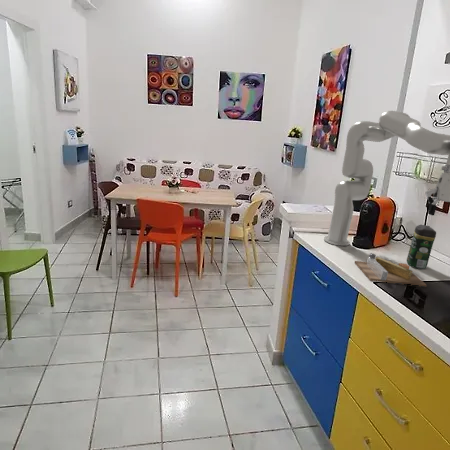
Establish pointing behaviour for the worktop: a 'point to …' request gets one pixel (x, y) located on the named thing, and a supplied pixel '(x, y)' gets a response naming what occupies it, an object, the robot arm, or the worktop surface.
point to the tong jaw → (394, 268)
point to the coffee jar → (421, 246)
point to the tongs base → (376, 267)
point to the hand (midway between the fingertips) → (443, 216)
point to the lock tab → (404, 265)
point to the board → (388, 276)
